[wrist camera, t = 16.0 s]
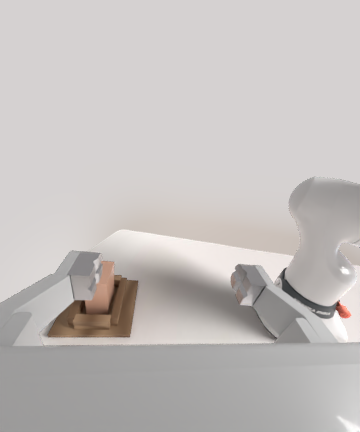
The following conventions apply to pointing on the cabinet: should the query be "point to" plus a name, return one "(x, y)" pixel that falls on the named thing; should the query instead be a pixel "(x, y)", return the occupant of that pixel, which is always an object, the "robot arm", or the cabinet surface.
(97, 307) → the peach rectangular block
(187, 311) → the cabinet surface
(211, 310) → the cabinet surface
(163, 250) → the cabinet surface
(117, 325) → the wooden tray with base
